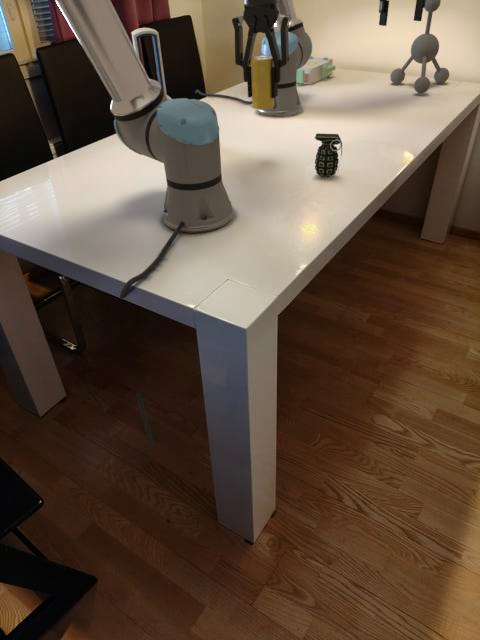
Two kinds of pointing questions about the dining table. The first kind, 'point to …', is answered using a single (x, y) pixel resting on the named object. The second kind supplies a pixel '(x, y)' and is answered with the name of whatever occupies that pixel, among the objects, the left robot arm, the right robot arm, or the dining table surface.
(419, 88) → the molecular model
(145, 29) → the electronic device
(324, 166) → the grenade
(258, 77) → the canister
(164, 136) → the left robot arm
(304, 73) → the decorative block
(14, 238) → the dining table surface
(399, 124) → the dining table surface
